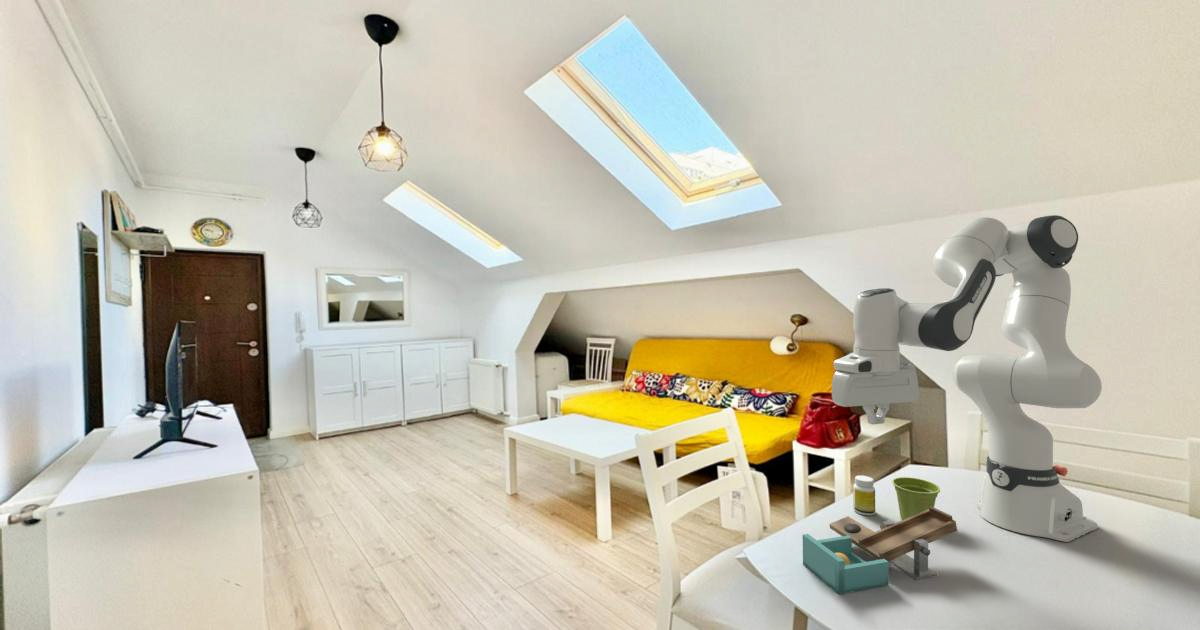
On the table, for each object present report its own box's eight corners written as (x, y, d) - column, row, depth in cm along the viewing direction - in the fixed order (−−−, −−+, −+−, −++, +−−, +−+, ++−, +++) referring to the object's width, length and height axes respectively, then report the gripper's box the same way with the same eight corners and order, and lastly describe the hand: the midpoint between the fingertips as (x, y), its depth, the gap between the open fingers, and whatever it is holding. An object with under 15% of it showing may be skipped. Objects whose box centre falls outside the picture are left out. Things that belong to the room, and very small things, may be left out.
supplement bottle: (878, 516, 113) (878, 482, 112) (857, 515, 114) (857, 481, 113) (871, 508, 117) (871, 475, 117) (850, 506, 118) (850, 474, 118)
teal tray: (848, 556, 96) (848, 527, 96) (888, 585, 86) (888, 553, 86) (802, 564, 93) (802, 534, 93) (839, 594, 84) (838, 561, 83)
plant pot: (942, 534, 104) (942, 495, 104) (892, 524, 109) (892, 487, 109) (938, 517, 112) (938, 481, 112) (892, 508, 117) (892, 474, 117)
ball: (844, 554, 92) (831, 546, 91) (857, 563, 88) (844, 555, 88) (835, 569, 91) (822, 561, 91) (848, 580, 88) (835, 571, 87)
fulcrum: (892, 548, 98) (892, 518, 98) (938, 576, 88) (938, 542, 88) (872, 551, 97) (872, 521, 97) (916, 580, 87) (916, 546, 87)
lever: (896, 500, 106) (893, 489, 106) (957, 530, 92) (954, 517, 92) (830, 528, 102) (827, 516, 102) (883, 563, 88) (880, 550, 88)
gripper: (902, 358, 109) (902, 416, 109) (826, 362, 104) (827, 423, 104) (927, 361, 103) (926, 423, 103) (847, 365, 98) (848, 430, 98)
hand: (876, 423), depth 104 cm, fingers closed
